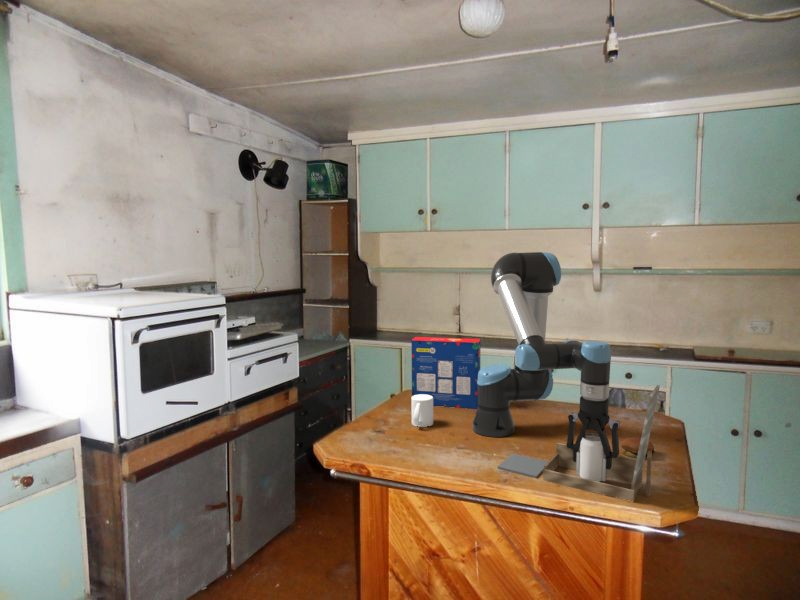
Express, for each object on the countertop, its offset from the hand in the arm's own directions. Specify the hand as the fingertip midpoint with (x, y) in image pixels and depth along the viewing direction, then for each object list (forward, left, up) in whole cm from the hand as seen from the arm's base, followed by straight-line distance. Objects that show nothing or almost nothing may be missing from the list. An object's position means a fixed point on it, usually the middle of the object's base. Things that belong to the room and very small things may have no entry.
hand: (591, 475), depth 148 cm
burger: (+7, +29, -2) cm, 29 cm away
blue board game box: (-71, +42, -2) cm, 82 cm away
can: (0, 0, -1) cm, 1 cm away
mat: (-20, 0, -2) cm, 20 cm away
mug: (-66, +14, -2) cm, 67 cm away
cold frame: (+2, 0, -2) cm, 3 cm away
